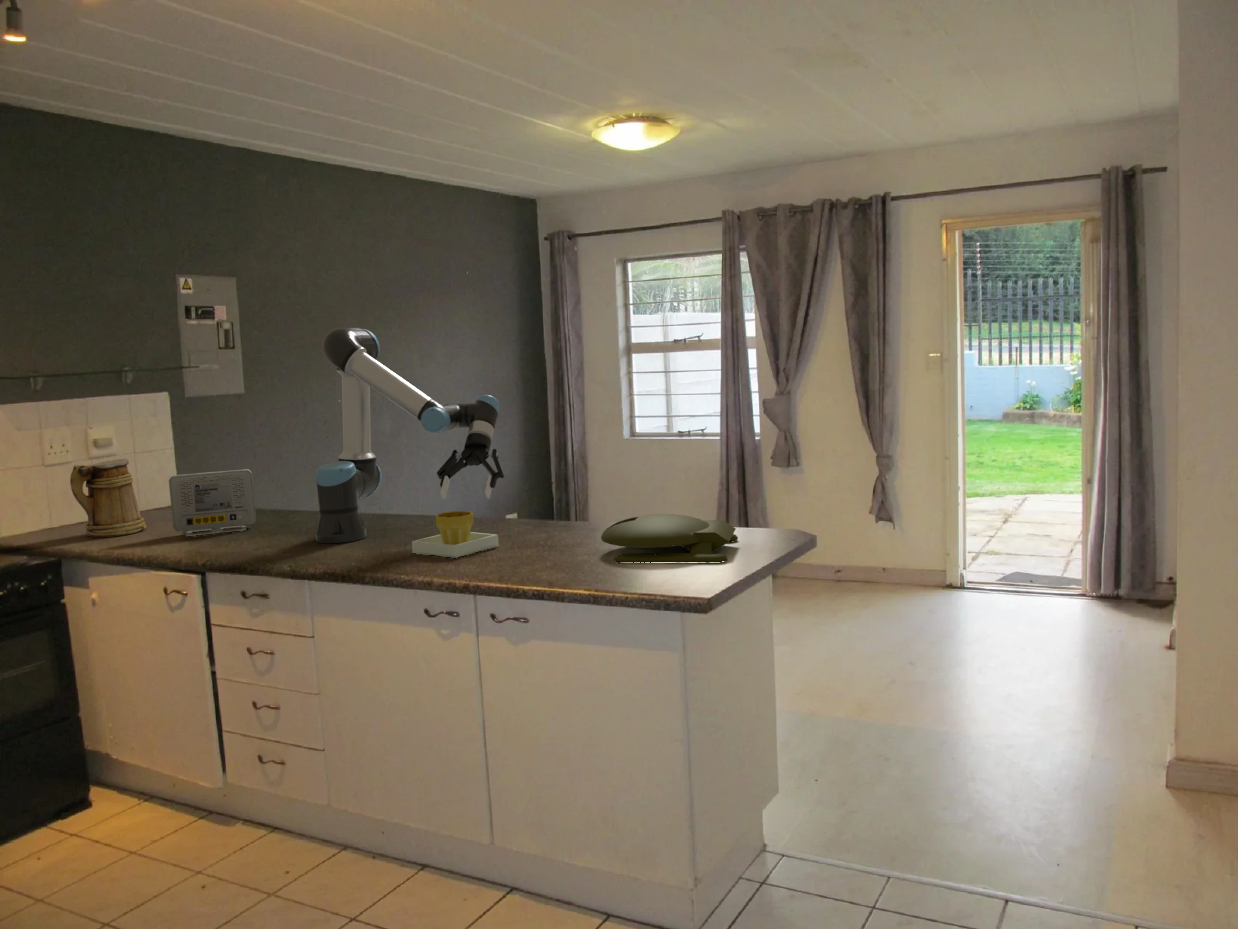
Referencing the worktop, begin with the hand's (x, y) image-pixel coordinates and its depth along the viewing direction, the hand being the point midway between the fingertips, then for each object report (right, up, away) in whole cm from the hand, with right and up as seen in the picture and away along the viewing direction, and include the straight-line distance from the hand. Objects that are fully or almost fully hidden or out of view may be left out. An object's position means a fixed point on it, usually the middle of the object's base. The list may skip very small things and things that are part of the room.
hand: (464, 496), depth 287 cm
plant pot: (-1, -14, -8) cm, 16 cm away
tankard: (-129, -15, +50) cm, 139 cm away
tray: (-1, -15, -8) cm, 17 cm away
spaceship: (+58, -14, -23) cm, 64 cm away
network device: (-90, -14, +44) cm, 101 cm away
